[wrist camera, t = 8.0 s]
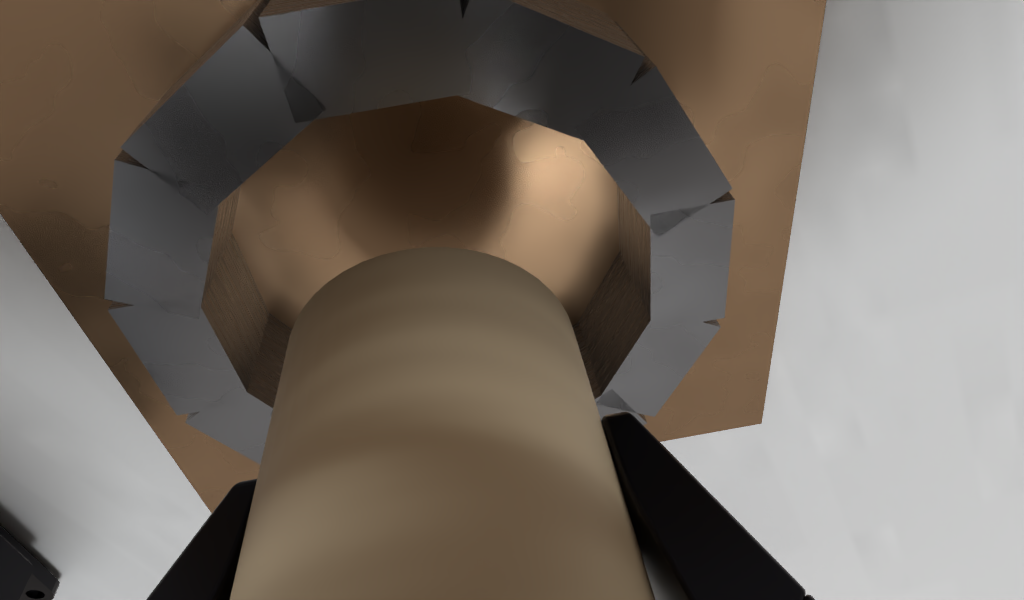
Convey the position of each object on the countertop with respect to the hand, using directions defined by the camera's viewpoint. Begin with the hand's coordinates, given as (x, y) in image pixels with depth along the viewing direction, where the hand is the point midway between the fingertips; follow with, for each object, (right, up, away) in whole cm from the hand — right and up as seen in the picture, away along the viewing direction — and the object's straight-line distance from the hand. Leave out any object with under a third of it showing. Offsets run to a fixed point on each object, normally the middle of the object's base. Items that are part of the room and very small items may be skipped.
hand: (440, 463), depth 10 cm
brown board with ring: (-1, +4, +5) cm, 6 cm away
